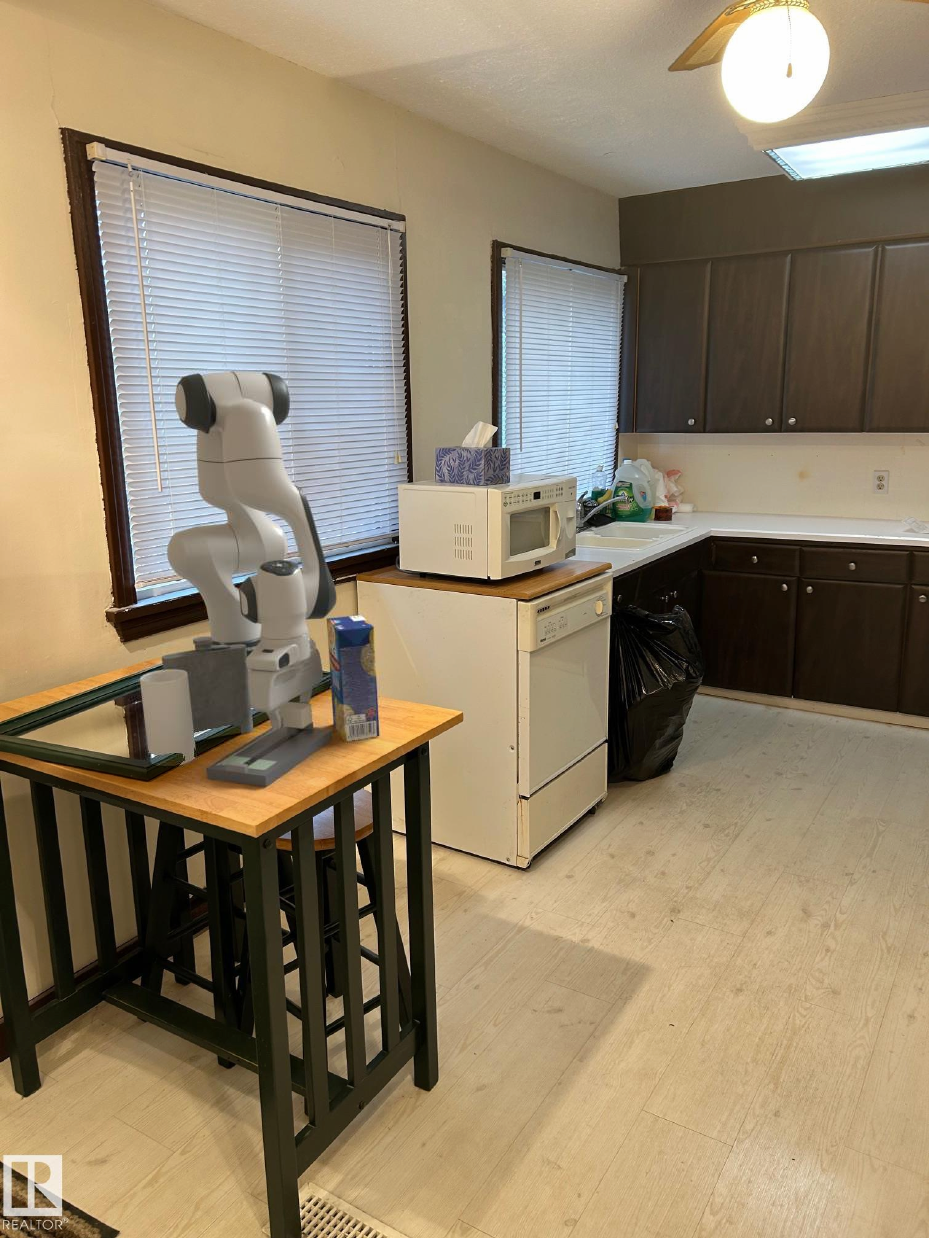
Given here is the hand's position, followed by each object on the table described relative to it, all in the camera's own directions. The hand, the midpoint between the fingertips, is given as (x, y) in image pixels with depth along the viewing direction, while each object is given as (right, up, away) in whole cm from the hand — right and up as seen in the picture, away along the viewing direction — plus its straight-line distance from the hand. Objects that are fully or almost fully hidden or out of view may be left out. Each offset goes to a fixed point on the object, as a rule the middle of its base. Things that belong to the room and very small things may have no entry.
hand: (291, 719), depth 169 cm
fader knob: (0, -3, +1) cm, 3 cm away
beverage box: (+11, -3, +8) cm, 14 cm away
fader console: (-2, -7, -5) cm, 9 cm away
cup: (-21, -7, -4) cm, 23 cm away
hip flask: (-17, -4, +7) cm, 19 cm away
